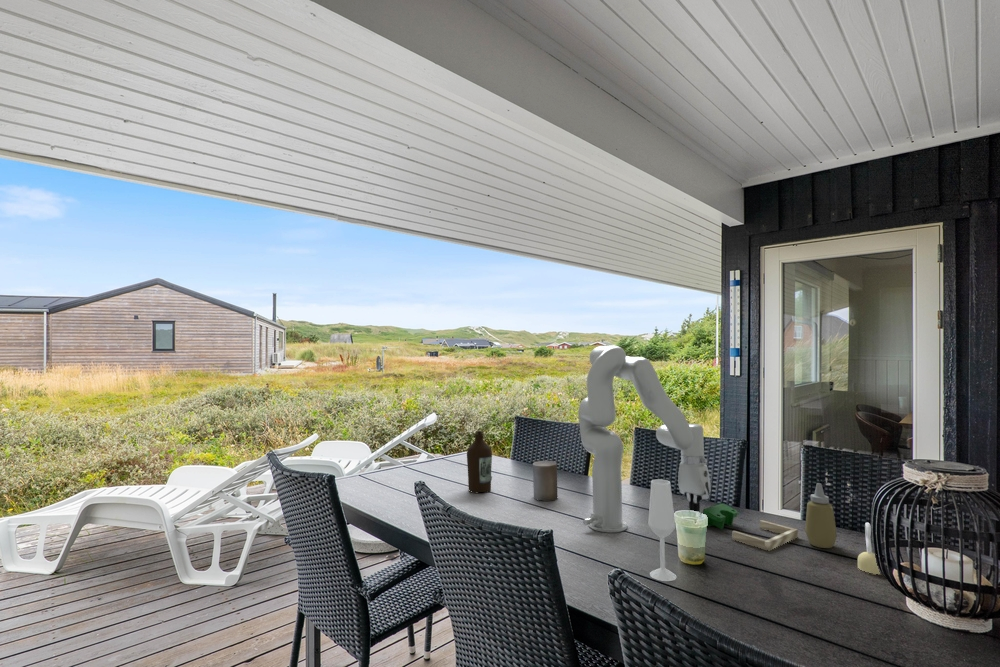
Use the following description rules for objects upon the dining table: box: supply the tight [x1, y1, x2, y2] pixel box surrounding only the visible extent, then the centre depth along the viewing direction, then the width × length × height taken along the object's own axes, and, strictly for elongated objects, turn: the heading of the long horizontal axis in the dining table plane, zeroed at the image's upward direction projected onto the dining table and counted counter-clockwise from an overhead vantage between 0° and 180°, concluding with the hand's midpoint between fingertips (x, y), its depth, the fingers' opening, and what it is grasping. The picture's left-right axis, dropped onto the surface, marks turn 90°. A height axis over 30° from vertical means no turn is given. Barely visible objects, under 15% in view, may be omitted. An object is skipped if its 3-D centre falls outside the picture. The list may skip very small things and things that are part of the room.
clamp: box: [702, 503, 739, 530], centre depth 168 cm, size 12×6×9 cm, turn 118°
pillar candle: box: [532, 460, 559, 502], centre depth 202 cm, size 10×10×15 cm
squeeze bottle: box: [804, 482, 838, 549], centre depth 150 cm, size 8×8×18 cm
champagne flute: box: [647, 479, 677, 582], centre depth 131 cm, size 7×7×24 cm
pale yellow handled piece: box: [857, 522, 881, 575], centre depth 133 cm, size 6×5×12 cm
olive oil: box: [466, 429, 493, 493], centre depth 214 cm, size 11×11×25 cm
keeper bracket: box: [731, 519, 799, 552], centre depth 155 cm, size 17×11×2 cm, turn 125°
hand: (694, 513), depth 176 cm, fingers closed
